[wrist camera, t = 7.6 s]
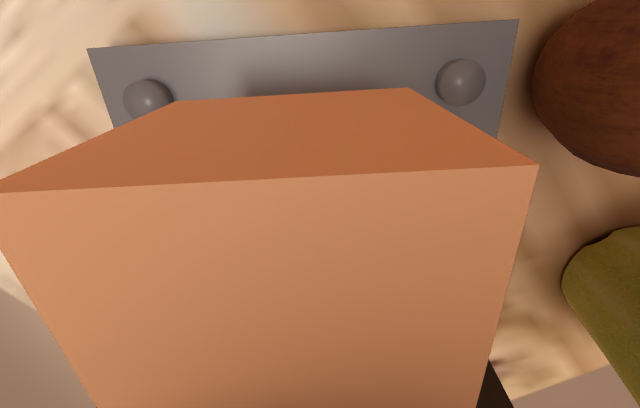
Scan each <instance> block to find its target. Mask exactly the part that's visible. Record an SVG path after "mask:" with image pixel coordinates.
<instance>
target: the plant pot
mask: <svg viewBox="0 0 640 408" xmlns="http://www.w3.org/2000/svg"><path fill="white" fill-rule="evenodd" d="M561 287H562V292H563V294H564V296H565V298H566V300H567V302H568V304H569V305H570V307H571V308H572V310H573V311H574V312H575V314H576V315H577V317H578V318H579V319H580V321H581V322H582V324H583V325H584V326H585V328H586V329H587V331H588V332H589V333H590V335H591V336H592V338H593V339H594V341H595V342H596V343H597V345H598V346H599V348H600V349H601V351H602V352H603V353H604V355H605V356H606V358H607V359H608V361H609V362H610V364H611V365H612V366H613V368H614V369H615V371H616V372H617V374H618V375H619V377H620V378H621V380H622V381H623V383H624V384H625V385H626V387H627V388H628V390H629V391H630V393H631V394H632V396H633V397H634V399H635V400H636V402H637V403H638V405H639V406H640V226H637V227H628V228H622V229H619V230H615V231H613V232H612V233H611V234H610V235H609V236H608V237H607V238H605V239H603V240H601V241H599V242H597V243H594V244H592V245H588V246H585V247H584V248H582V249H581V250H580V251H579V252H578V253H577V254H576V255H575V256H574V257H573V258H572V260H571V261H570V262H569V264H568V266H567V267H566V269H565V272H564V274H563V277H562V282H561Z"/></svg>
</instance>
